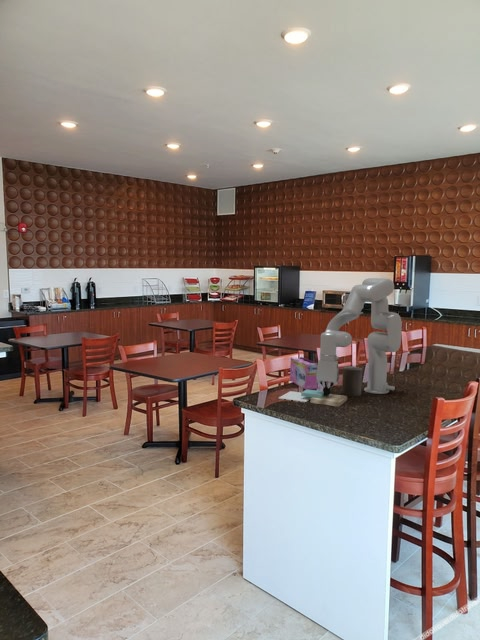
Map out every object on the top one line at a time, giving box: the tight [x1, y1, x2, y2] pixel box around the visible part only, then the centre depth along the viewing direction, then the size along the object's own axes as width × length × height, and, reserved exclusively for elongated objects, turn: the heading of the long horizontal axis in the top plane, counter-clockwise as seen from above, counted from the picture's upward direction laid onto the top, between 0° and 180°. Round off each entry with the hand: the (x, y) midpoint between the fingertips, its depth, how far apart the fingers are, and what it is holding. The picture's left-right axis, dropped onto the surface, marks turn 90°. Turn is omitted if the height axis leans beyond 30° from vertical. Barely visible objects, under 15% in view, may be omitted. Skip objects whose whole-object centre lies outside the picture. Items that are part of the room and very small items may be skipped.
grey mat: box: [278, 390, 312, 403], centre depth 242 cm, size 14×16×1 cm
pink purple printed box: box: [289, 356, 319, 390], centre depth 271 cm, size 24×8×14 cm, turn 16°
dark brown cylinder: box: [341, 365, 363, 397], centre depth 249 cm, size 10×10×15 cm
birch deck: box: [309, 393, 348, 407], centre depth 234 cm, size 14×14×2 cm
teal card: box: [301, 389, 324, 398], centre depth 237 cm, size 10×8×2 cm
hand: (326, 395), depth 235 cm, fingers closed
